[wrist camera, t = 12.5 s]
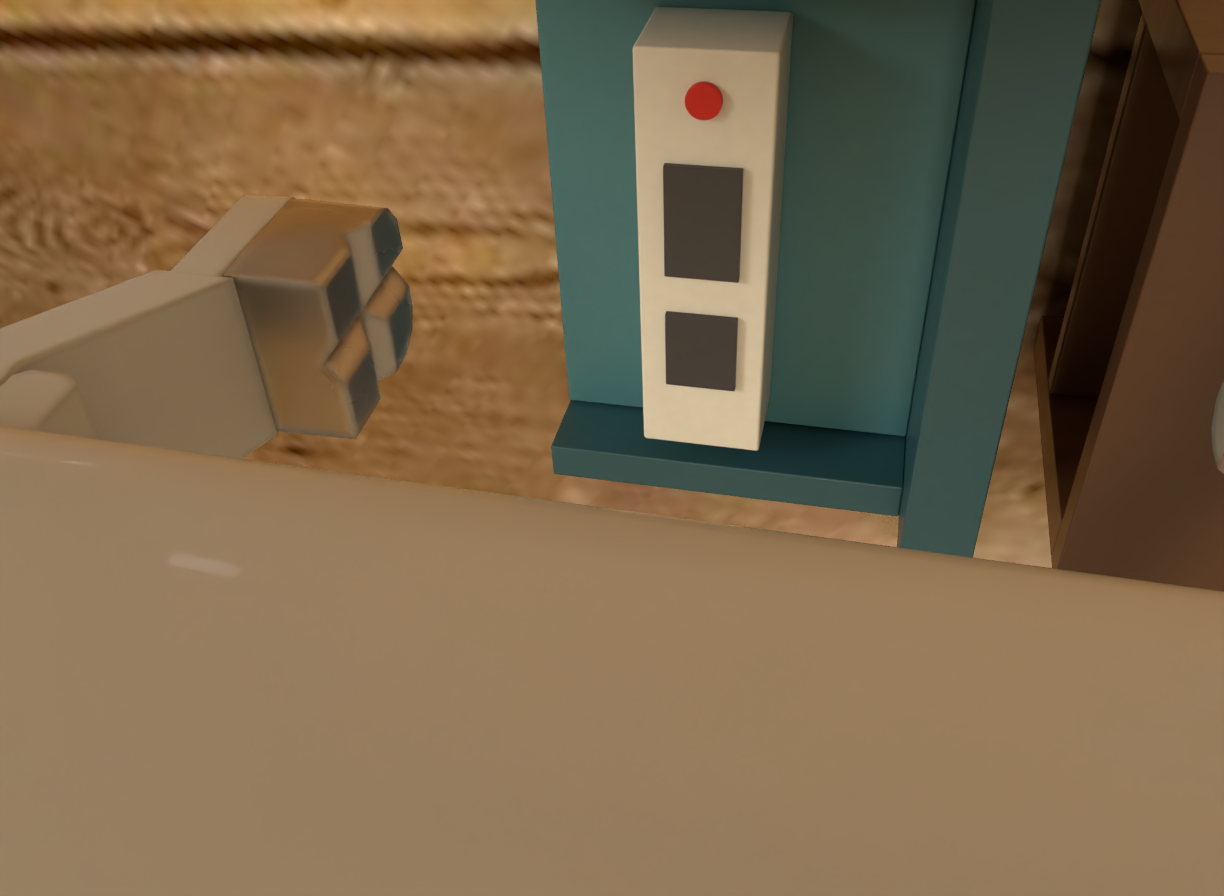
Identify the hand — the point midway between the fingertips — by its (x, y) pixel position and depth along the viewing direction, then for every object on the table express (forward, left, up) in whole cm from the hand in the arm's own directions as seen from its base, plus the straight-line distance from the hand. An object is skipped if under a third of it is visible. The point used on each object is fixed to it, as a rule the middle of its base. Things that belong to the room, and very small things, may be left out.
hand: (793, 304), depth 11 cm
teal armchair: (-2, -10, -24) cm, 26 cm away
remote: (-4, -10, -19) cm, 22 cm away
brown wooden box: (+9, -10, -24) cm, 28 cm away
